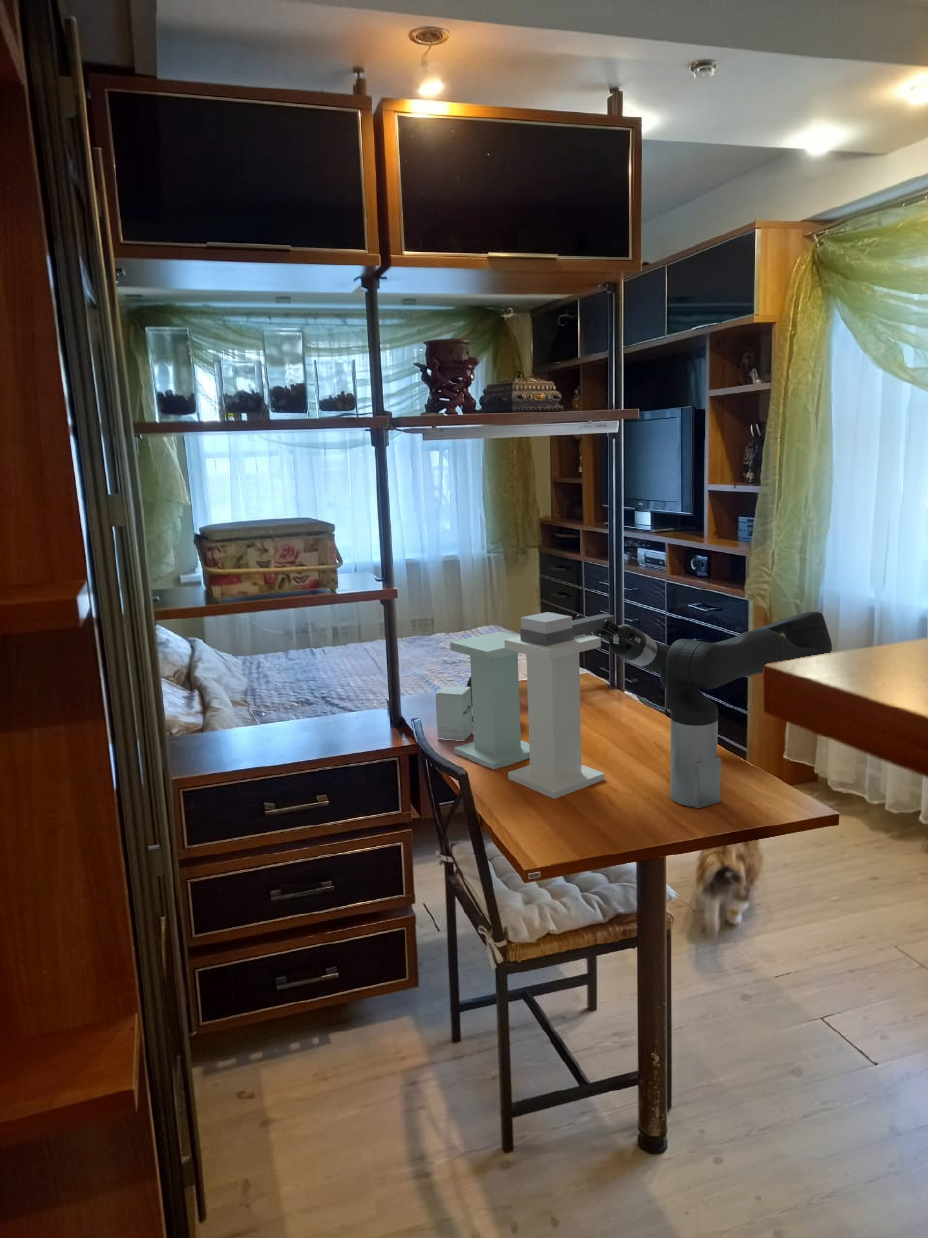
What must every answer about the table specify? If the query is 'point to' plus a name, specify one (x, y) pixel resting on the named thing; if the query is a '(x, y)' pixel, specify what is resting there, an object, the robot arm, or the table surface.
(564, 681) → the tall pedestal
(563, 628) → the block
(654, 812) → the table surface
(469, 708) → the supplement box
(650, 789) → the table surface
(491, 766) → the low pedestal
